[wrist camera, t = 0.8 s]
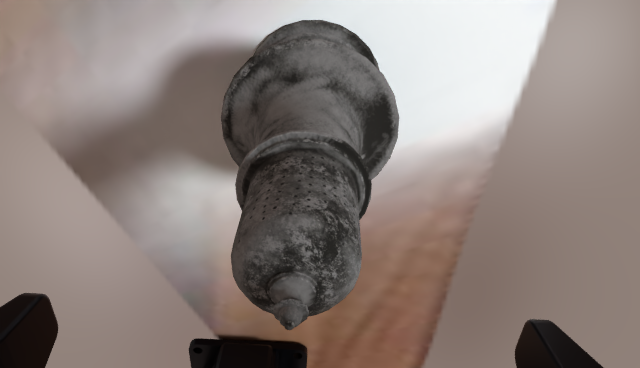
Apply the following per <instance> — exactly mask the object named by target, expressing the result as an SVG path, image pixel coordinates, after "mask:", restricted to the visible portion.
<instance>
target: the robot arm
mask: <svg viewBox="0 0 640 368" xmlns="http://www.w3.org/2000/svg"><path fill="white" fill-rule="evenodd" d="M57 333H58V324H57V320H56V317H55V314H54V311H53V308H52V305H51V302H50V300H49V298H48V297H47V296H46V295H45V294H36V293H24V294H21V295H19V296H17V297H15V298H14V299H12V300H11V301H9V302H8V303H6V304H5V305H3V306H1V307H0V368H45V366H46V364H47V361H48V358H49V356H50V353H51V351H52V348H53V345H54V343H55V340H56V337H57ZM189 355H190V361H191V367H192V368H307V348H306V347H305V346H304V345H302V344H292V343H273V342H254V341H236V340H217V339H194V340H192V341H191V343H190V347H189ZM515 361H516V366H517V368H603V367H602V366H601V365H600V364H599V363H598V362H596V361H595V360H594V359H593V358H592V357H591V356H590V355H589V354H588V353H587V352H585V351H584V350H583V349H582V348H581V347H580V346H579V345H578V344H577V343H575V342H574V341H573V340H572V339H571V338H570V337H569V336H568V335H566V334H565V333H564V332H563V331H562V330H561V329H560V328H559V327H558V326H557V325H555V324H554V323H553V322H551V321H549V320H535V319H530V320H528V321H527V322H526V323H525V325H524V327H523V330H522V333H521V335H520V338H519V340H518V343H517V346H516V349H515Z"/></svg>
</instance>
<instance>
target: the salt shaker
mask: <svg viewBox="0 0 640 368" xmlns="http://www.w3.org/2000/svg"><path fill="white" fill-rule="evenodd" d="M221 121H222V129H223V136H224V140H225V142H226V145H227V147H228V149H229V152H230V154H231V156H232V158H233V160H234V161H235V162H236V163H237V165H238V166H239V170H238V174H237V179H236V184H235V186H236V195H237V200H238V203H239V205H240V207H241V210H242V214H241V218H240V222H239V225H238V229H237V232H236V236H235V239H234V243H233V248H232V253H231V263H232V271H233V277H234V279H235V281H236V283H237V285H238V287H239V289H240V290H241V291H242V292H243V293H244V294H245V296H246V297H247V298H248V299H249V300H250V301H251V302H252V303H253V304H255V305H256V306H258V307H259V308H261V309H262V310H264V311H267V312H269V313H272V314H274V316H275V318H276V319H277V320H279V321H280V323H281V324H282V325H283V326H285V328H286V329H287V330H292V329H293V328H294V327H296V326H298V325H299V324H300V323H302V322H303V321H304V320H306V319H307V317H308V316H313V315H317V314H319V313H322V312H324V311H327V310H329V309H330V308H332V307H333V306H335V305H336V304H338V303H339V302H340V301H342V300H343V299H344V298H345V297H346V296H347V295H348V294H349V293H350V291H351V290H352V289H353V288H354V286H355V283H356V281H357V278H358V276H359V272H360V268H361V256H362V252H361V238H360V223H359V220H360V219H361V218H362V216H363V215H364V214H365V212H366V209H367V207H368V204H369V202H370V199H371V185H372V183H371V180H372V179H373V178H374V177H375V176H377V175H378V174H379V172H380V171H381V170H382V168H383V167H384V165H385V164H386V163H387V161H388V160H389V159H390V157H391V154H392V152H393V149H394V146H395V144H396V141H397V138H398V125H399V114H398V110H397V105H396V101H395V96H394V93H393V92H392V90H391V88H390V86H389V84H388V82H387V81H386V79H385V77H384V75H383V74H382V73H381V72H380V71H379V67H378V63H377V61H376V59H375V58H374V56H373V54H372V52H371V50H370V48H369V47H368V46H367V45H366V44H365V43H364V42H363V41H362V40H361V39H360V38H359V37H358V36H357V35H356V34H355V33H353V32H351V31H349V30H348V29H346V28H344V27H343V26H341V25H338V24H334V23H330V22H327V21H323V20H302V21H299V22H295V23H292V24H288V25H285V26H283V27H282V28H280V29H278V30H277V31H275V32H274V33H272V34H270V35H269V36H268V37H267V38H266V39H265V40H264V42H263V43H262V44H261V45H260V46H259V47H258V48H257V50H256V52H255V54H254V56H253V57H251V58H250V59H249V60H248V61H247V62H246V63H245V64H244V66H243V67H242V68H241V69H240V70H239V71H238V72H237V73H236V74H235V75H234V77H233V79H232V82H231V84H230V86H229V88H228V90H227V92H226V94H225V96H224V102H223V108H222V115H221Z"/></svg>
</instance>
